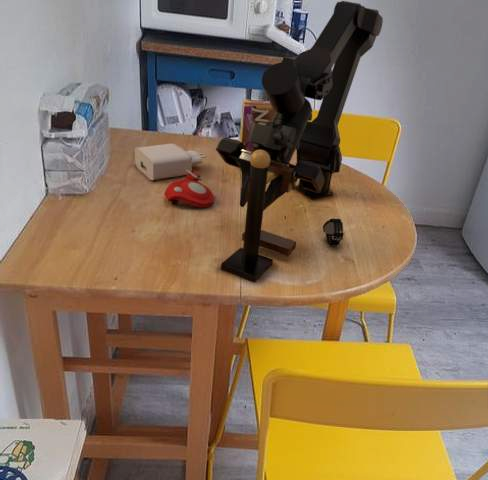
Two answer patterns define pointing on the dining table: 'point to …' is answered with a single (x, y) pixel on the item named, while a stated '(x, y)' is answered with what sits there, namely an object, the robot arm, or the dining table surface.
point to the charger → (165, 161)
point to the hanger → (273, 240)
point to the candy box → (254, 118)
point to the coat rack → (253, 223)
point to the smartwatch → (333, 231)
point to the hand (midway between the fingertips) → (250, 209)
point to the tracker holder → (190, 191)
